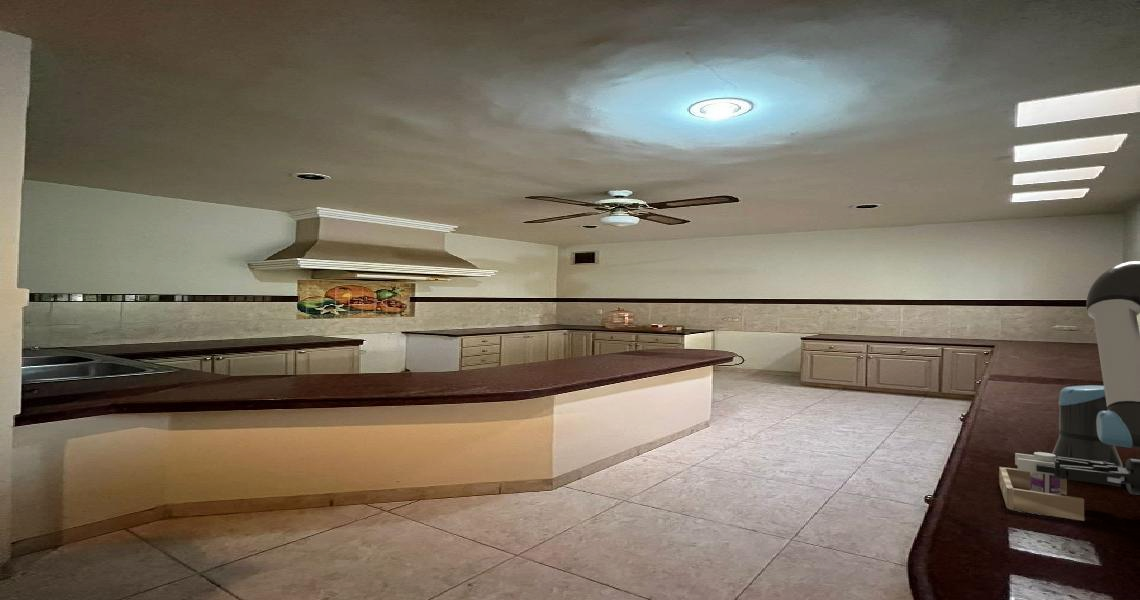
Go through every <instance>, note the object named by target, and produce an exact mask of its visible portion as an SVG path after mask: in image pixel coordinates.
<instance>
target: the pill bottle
mask: <svg viewBox="0 0 1140 600" xmlns="http://www.w3.org/2000/svg"><path fill="white" fill-rule="evenodd" d="M1033 455H1034V459H1035V460H1036V461H1044V462H1052V463H1054V466H1055V461H1056V455H1054V454H1052V453H1049V452H1042V451H1037V452H1036V451H1035V452H1033ZM1030 487H1031V490H1030V491H1036V492H1043V493H1050V494H1057V495H1061V494H1060V477H1057V476H1055V474H1054V475H1048V474H1040V473H1033V472H1030Z"/></svg>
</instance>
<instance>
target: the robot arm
mask: <svg viewBox="0 0 1140 600" xmlns="http://www.w3.org/2000/svg"><path fill="white" fill-rule="evenodd" d="M1085 304H1086V310H1087V315H1088V317H1089V318H1091V319H1092V320H1093V322H1094V328H1095V335H1096V342H1097V349H1098V356H1099V362H1100V369H1101V376H1102V383H1103V385H1097V384H1096V385H1074V386H1073V385H1072V386H1066V387H1063V388H1062V389H1061V390H1059V391H1060V392H1059V397H1058V402H1057V403H1058V406H1059V408H1058V409H1059V410H1058V411H1059V412H1058V413H1059V414H1058V415H1059V416H1058V417H1059V418H1058V419H1059V423H1058V429H1059V430H1058V432H1059V433H1058V434H1059V435H1058V436H1059V437H1058V439H1057V442H1056V443H1055V447H1054V448H1053V450H1052V452H1051V454H1054V455H1056V461H1055V466H1054V463H1052V462H1044V461H1036V460H1035V459H1034V454H1028V453H1027V454H1026V453H1020V452H1019V453H1018V452H1015V453H1014V464H1015V466H1017V469H1018V471H1025V472H1033V473H1040V474H1048V475H1054V474H1055V476H1057V477H1060V478H1061V479H1067V481H1068V480H1070V481H1076V482H1078V481H1079V482H1083V483H1091V484H1099V485H1101V484H1102V485H1106V486H1107V485H1108V486H1114V487H1115V488H1121V487H1122V484H1125V486H1126V489H1127V491H1128V492H1129V494H1131V495H1137V496H1138V495H1139V496H1140V459H1138V458H1127V460H1125V466H1124V465H1123V462H1122V461H1121V458H1120V455H1119V453H1118V451H1117V448H1116V447H1122V448H1127V449H1130V448H1134V449H1140V328H1139V327H1140V326H1139V322H1138V316H1139V315H1140V260H1138V261H1136V260H1133V261H1132V260H1131V261H1126V262H1123V263H1120V264H1117V265H1114V266H1112V267H1110V268H1108V269H1107V270H1106V271H1104V272H1103V273H1101V274H1100V275H1099V276H1098V277H1097V278H1096V280H1095V281H1094V283H1093V284H1092V285H1091V286H1090V288H1089V291H1088V293H1087V296H1086V303H1085ZM1123 466H1124V467H1123Z"/></svg>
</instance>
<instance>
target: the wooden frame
mask: <svg viewBox="0 0 1140 600" xmlns="http://www.w3.org/2000/svg"><path fill="white" fill-rule="evenodd" d="M998 477H999V480H998V481H999V487H1000V490H1001V494H1002V497H1003V500H1004V504H1005V507H1006V509H1010V510H1011V509H1012V510H1016V511H1021V512H1028V513H1036V514H1041V515H1047V516H1053V517H1059V518H1065V519H1071V520H1076V521H1077V520H1078V521H1083V522H1084V521H1085V499H1084V498H1083V497H1076V496H1070V495H1068V489H1067V488H1068V484H1067V483H1068V479H1061V478H1060V495H1057V494H1050V493H1043V492H1036V491H1031V487H1030V472H1025V471H1018V468H1013V467H1012V468H1011V467H1005V466H999V472H998Z"/></svg>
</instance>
